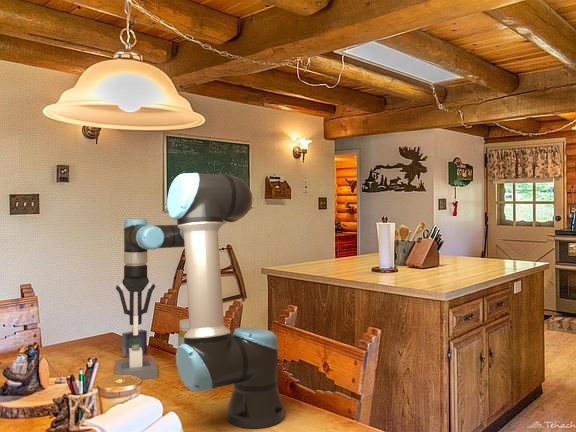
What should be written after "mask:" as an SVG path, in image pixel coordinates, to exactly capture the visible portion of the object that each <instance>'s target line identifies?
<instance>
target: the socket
mask: <svg viewBox="0 0 576 432" xmlns="http://www.w3.org/2000/svg"><path fill="white" fill-rule="evenodd" d="M114 372H115V373H114V375H132V376H136V377H139V378H141V380H149V379H157V378H158V367H157V363H156V360H155V356H153V355H152V354H151V355H142V367H134V368H129V358H127V359H125V358H124V359H116V360H115V361H114Z"/></svg>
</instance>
